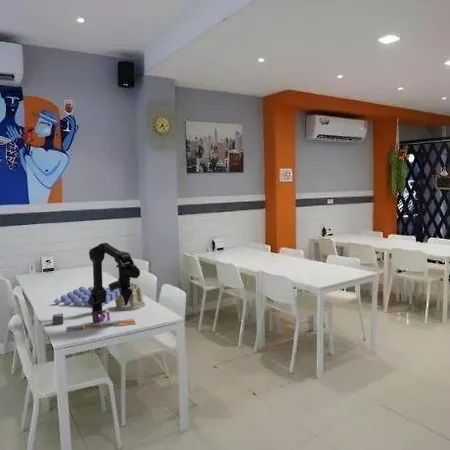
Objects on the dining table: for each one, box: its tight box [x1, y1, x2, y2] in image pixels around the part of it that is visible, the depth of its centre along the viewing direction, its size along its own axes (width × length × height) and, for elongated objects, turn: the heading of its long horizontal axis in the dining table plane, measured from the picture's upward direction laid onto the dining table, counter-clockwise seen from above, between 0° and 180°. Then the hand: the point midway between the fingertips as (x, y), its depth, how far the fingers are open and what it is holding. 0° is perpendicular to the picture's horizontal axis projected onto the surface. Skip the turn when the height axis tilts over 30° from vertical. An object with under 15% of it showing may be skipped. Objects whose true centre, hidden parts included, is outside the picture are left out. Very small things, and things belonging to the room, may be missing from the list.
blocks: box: [53, 286, 121, 308], centre depth 285 cm, size 35×34×5 cm
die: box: [52, 313, 64, 326], centre depth 234 cm, size 5×5×5 cm
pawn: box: [121, 296, 130, 307], centre depth 233 cm, size 5×5×7 cm
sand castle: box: [114, 285, 146, 312], centre depth 264 cm, size 16×16×15 cm
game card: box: [91, 309, 111, 324], centre depth 237 cm, size 7×5×9 cm
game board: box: [65, 318, 136, 333], centre depth 230 cm, size 9×36×1 cm, turn 108°
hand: (125, 303), depth 233 cm, fingers closed on pawn, 4 cm apart
